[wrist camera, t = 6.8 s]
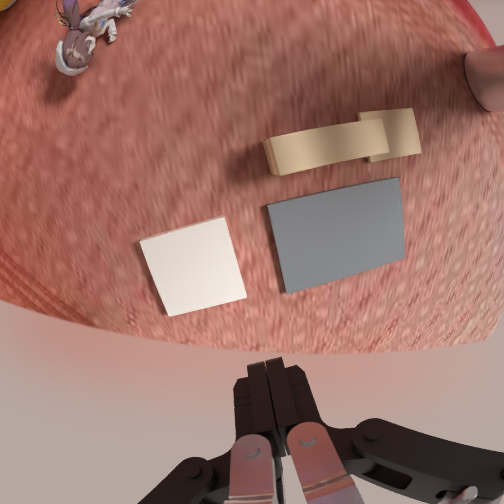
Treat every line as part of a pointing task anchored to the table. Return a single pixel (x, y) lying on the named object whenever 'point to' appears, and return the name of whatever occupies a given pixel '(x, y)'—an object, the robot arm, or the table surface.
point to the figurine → (86, 32)
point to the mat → (338, 232)
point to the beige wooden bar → (345, 142)
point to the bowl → (6, 4)
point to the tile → (194, 266)
